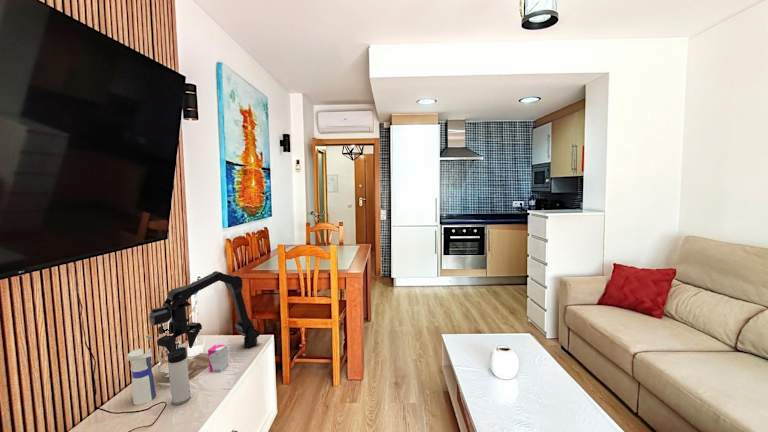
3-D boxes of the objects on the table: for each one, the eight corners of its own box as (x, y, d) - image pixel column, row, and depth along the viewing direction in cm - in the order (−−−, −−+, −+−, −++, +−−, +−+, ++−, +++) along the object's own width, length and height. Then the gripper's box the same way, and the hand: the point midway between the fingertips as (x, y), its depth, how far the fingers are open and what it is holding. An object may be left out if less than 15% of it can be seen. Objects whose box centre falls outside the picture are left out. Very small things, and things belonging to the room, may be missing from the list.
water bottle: (140, 393, 142) (133, 333, 139) (161, 391, 142) (155, 332, 140) (126, 405, 134) (119, 343, 131) (149, 404, 134) (142, 341, 132)
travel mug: (195, 396, 138) (190, 347, 136) (180, 406, 132) (175, 355, 130) (183, 393, 140) (178, 345, 138) (168, 403, 134) (163, 353, 132)
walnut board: (201, 355, 172) (200, 352, 171) (225, 358, 168) (225, 355, 168) (162, 380, 150) (162, 377, 150) (189, 383, 147) (189, 380, 147)
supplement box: (229, 368, 158) (227, 344, 157) (221, 375, 153) (219, 350, 152) (217, 368, 159) (214, 344, 158) (209, 375, 153) (207, 350, 152)
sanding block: (181, 368, 157) (180, 358, 156) (196, 370, 155) (195, 359, 154) (172, 374, 152) (171, 363, 152) (187, 376, 150) (186, 365, 149)
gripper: (181, 309, 162) (184, 341, 163) (144, 325, 144) (148, 361, 145) (201, 310, 159) (204, 343, 161) (166, 327, 141) (170, 364, 143)
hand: (182, 352), depth 152 cm, fingers open, 9 cm apart
